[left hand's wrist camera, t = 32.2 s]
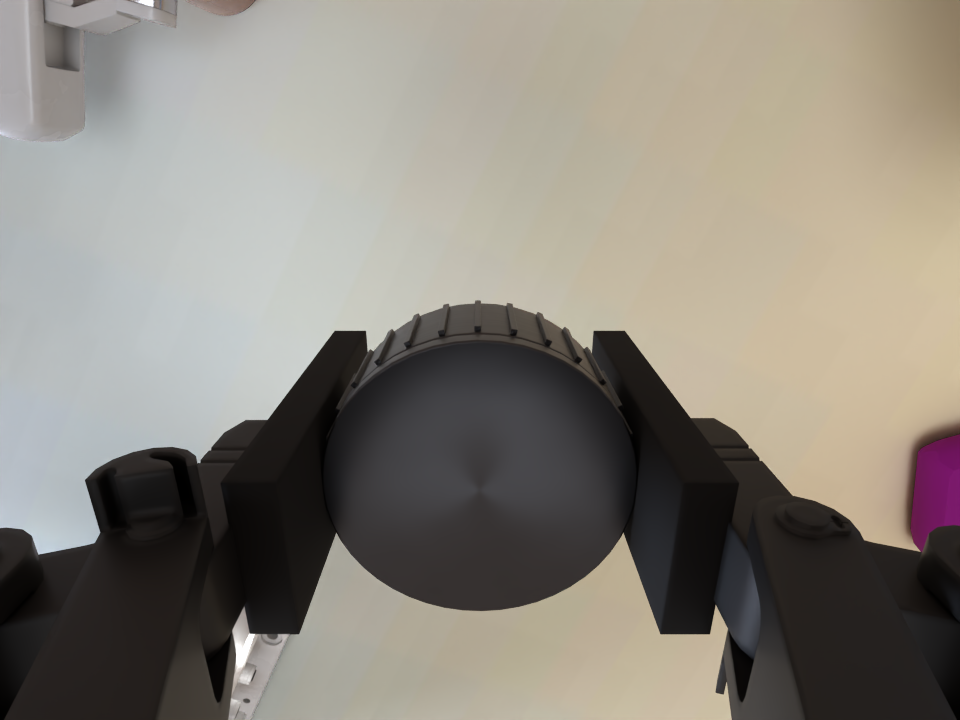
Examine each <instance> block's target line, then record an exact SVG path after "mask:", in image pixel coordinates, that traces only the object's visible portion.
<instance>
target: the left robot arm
mask: <svg viewBox="0 0 960 720" xmlns="http://www.w3.org/2000/svg"><path fill="white" fill-rule="evenodd" d="M367 353H368V352H367V339H366V331H334V333H333V334H332V335H331V337H330V338H329V339H328V341H327V342H326V343H325V345H324V346H323V347H322V349H321V350H320V351H319V353H318V354H317V355H316V357H315V358H314V359H313V361H312V362H311V363H310V365H309V366H308V367H307V369H306V370H305V371H304V373H303V374H302V375H301V377H300V378H299V379H298V380H297V382H296V383H295V384H294V386H293V387H292V388H291V390H290V391H289V392H288V394H287V395H286V396H285V398H284V399H283V400H282V402H281V403H280V404H279V406H278V407H277V408H276V410H275V411H274V412H273V414H272V415H271V416H270V418H269V419H268V420H245V421H244V422H242V423H240V424H238V425H237V426H235V427H233V428H232V429H230V430H228V431H227V432H225V433H224V434H223V435H222V436H221V437H220V438H219V440H218V441H217V442H216V443H215V444H214V445H213V446H212V448H211V451H208V452H207V453H206V454H205V456H204V457H203V458H202V459H201V463H198V464H197V460H196V456H195V455H194V454H192V453H191V452H189V451H188V450H185V449H180V448H174V447H165V448H151V449H146V450H142V451H137V452H132V453H130V454H127V455H124V456H121V457H119V458H116V459H113V460H111V461H110V462H108V463H106V464H104V465H103V466H101V467H99V468H97V469H96V470H95V471H94V472H93V473H92V474H91V475H90V476H89V477H88V478H87V479H86V480H85V482H86V485H87V489H88V492H89V495H90V499H91V502H92V505H93V509H94V512H95V516H96V519H97V522H98V526H99V529H100V532H101V533H100V535H99V537H98V539H97V541H96V542H95V543H94V544H90V545H86V546H81V547H76V548H71V549H66V550H61V551H56V552H50V553H45V554H40V555H38V553H37V550H36V547H35V544H34V541H33V538H32V536H31V535H30V534H28V533H27V532H25V531H24V530H22V529H13V528H0V720H228V718H229V710H230V703H231V695H232V687H233V679H234V672H235V664H236V656H237V655H236V647H235V641H234V637H233V632H232V630H233V628H234V626H235V624H236V622H237V620H238V618H239V616H240V614H241V612H242V610H243V608H244V607H245V612H246V617H247V623H248V628H249V633H250V634H299V633H300V630H301V628H302V625H303V622H304V619H305V617H306V614H307V611H308V608H309V606H310V603H311V600H312V597H313V595H314V592H315V589H316V586H317V584H318V581H319V578H320V575H321V573H322V570H323V567H324V564H325V562H326V559H327V556H328V553H329V551H330V548H331V545H332V542H333V540H334V537H335V534H336V531H335V529H334V527H333V525H332V522H331V520H330V517H329V514H328V512H327V509H326V505H325V500H324V494H323V485H322V473H321V472H322V462H323V454H324V450H325V446H326V436H327V434H328V432H329V430H330V428H331V426H332V424H333V423H334V421H335V419H336V417H337V415H338V414H335V413H334V411H335V409H336V407H337V405H338V403H339V401H340V400H341V398H342V396H343V394H344V392H345V390H346V388H347V387H348V385H349V383H350V381H351V379H352V377H353V375H354V373H356V374H357V372H358V370H359V368H360V366H361V364H362V362H363V360H364V358H365V357H366V355H367ZM592 355H593V357H594V359H595V361H596V363H597V364H598V366H599V368H600V370H601V371H603V370H604V372H605V374H606V376H607V378H608V380H609V381H610V383H611V385H612V387H613V389H614V391H615V393H616V394H617V396H618V398H619V400H620V402H621V404H622V406H623V408H624V410H622V411H621V412H622V414H623V416H624V417H625V419H626V421H627V423H628V425H629V427H630V429H631V431H632V433H633V436H634V438H633V439H632V440H633V443H634V447H635V450H636V457H637V464H638V481H637V490H636V498H635V504H634V507H633V510H632V513H631V516H630V519H629V522H628V524H627V526H626V528H625V530H624V532H623V533H624V535H625V538H626V541H627V543H628V546H629V549H630V552H631V554H632V557H633V560H634V563H635V565H636V568H637V571H638V574H639V576H640V579H641V582H642V585H643V587H644V590H645V593H646V596H647V598H648V601H649V604H650V607H651V609H652V612H653V615H654V618H655V620H656V623H657V626H658V629H659V631H660V634H710V631H711V626H712V621H713V615H714V610H715V605H716V606H717V608H718V610H719V612H720V614H721V616H722V618H723V619H724V621H725V623H726V625H727V627H728V632H727V637H726V641H725V646H724V651H723V656H722V660H721V665H720V670H719V675H718V680H717V686H716V693H719V694H723V695H724V690H725V686H726V682H727V686H728V693H729V701H730V709H731V716H732V720H960V526H958V525H950V526H941V527H937V528H935V529H934V530H933V531H931V532H930V533H929V534H928V537H927V540H926V543H925V545H924V548H923V551H922V552H918V551H913V550H908V549H903V548H897V547H892V546H887V545H882V544H877V543H872V542H868V541H864V539H863V538H862V536H861V534H860V532H859V531H858V529H857V528H856V527H855V526H854V525H853V523H852V522H851V521H850V520H849V519H847V518H846V517H844V516H843V515H841V514H840V513H839V512H837V511H836V510H834V509H832V508H830V507H827V506H825V505H823V504H820V503H818V502H816V501H812V500H808V499H804V498H800V497H796V496H792V495H791V494H790V492H789V491H788V490H787V489H786V488H785V487H784V486H783V484H782V483H781V482H780V481H779V480H778V479H777V478H776V476H775V475H774V474H773V473H772V472H771V471H770V470H769V468H768V467H767V466H766V465H765V464H764V463H763V462H762V461H759V457H758V456H757V455H756V454H755V452H754V451H753V450H752V449H749V446H748V444H747V443H746V442H745V441H744V440H743V439H742V438H741V436H740V435H739V434H738V433H737V432H736V431H735V430H733V429H732V428H730V427H728V426H726V425H725V424H723V423H721V422H720V421H718V420H716V419H714V418H690V417H689V415H688V414H687V413H686V412H685V410H684V409H683V408H682V406H681V405H680V404H679V402H678V401H677V400H676V398H675V397H674V396H673V394H672V393H671V392H670V390H669V389H668V388H667V386H666V385H665V384H664V382H663V381H662V380H661V378H660V377H659V376H658V374H657V373H656V372H655V370H654V369H653V368H652V366H651V365H650V364H649V362H648V361H647V360H646V358H645V357H644V356H643V354H642V353H641V352H640V351H639V349H638V348H637V347H636V345H635V344H634V343H633V341H632V340H631V339H630V337H629V336H628V335H627V333H626V332H625V331H594V334H593V347H592Z"/></svg>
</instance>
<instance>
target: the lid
mask: <svg viewBox="0 0 960 720" xmlns="http://www.w3.org/2000/svg"><path fill="white" fill-rule="evenodd" d="M622 410H624V408H623V406H622V404H621V402H620V400H619V398H618V396H617V394H616V393H615V391H614V389H613V387H612V385H611V383H610V381H609V380H608V378H607V376H606V374H605V372H604V370H603V371H601V370H600V368H599V366H598V364H597V363H596V361H595V359H594V357H593V355H592V353H591V351H590V350H589V348H588V347H586V348H585V349H583V348H582V346H581V345H580V344H579V343H578V342H577V341H576V340H575V339H574V338H572V336H571V334H570V331H569V330H568V329H567V328H566V327H564V328H563V329H561V328H559V327H558V326H556V325H555V324H553V323H552V322H550V321H548V320H546V319H544V317H543V314H541V313H539V312H537V314H536V315H535V314H533V313H530V312H527V311H524V310H521V309H518V308H514V307H513V304H510V303H507V306H503V305H497V304H481V301H475V304H464V305H456V306H451V307H449V304H445V305H443V308H441V309H438V310H435V311H433V312H430V313H427V314H424V315H422V316H420V315H419V314H416V315H414V317H413V319H412V321H410V322H408V323H406V324H405V325H403V326H402V327H400V328H399V329H397V330H396V331H393V330H392V329H391V330H390V331H389V332H388V333H387V335H386V337H385V340H384V341H383V342H382V343H381V344H380V345H379V346H378V347H377V348H376V349H375V351H374V352H373V351H372V350H369V352H368V353H367V355H366V357H365V358H364V360H363V362H362V364H361V366H360V368H359V370H358V372H357V374H356V373H354V375H353V377H352V379H351V381H350V383H349V385H348V387H347V388H346V390H345V392H344V394H343V396H342V398H341V400H340V401H339V403H338V405H337V407H336V409H335V411H334V413H335V414H338V415H337V417H336V419H335V421H334V423H333V424H332V426H331V428H330V430H329V432H328V434H327V436H326V446H325V450H324V454H323V462H322V472H321V473H322V485H323V494H324V500H325V505H326V509H327V512H328V514H329V517H330V520H331V522H332V525H333V527H334V529H335V531H336V532H337V534H338V536H339V538H340V540H341V541H342V543H343V544H344V545H345V547H346V548H347V549H348V551H349V552H350V554H351V555H352V556H353V557H354V558H355V559H356V560H357V561H358V562H359V563H360V564H361V565H362V566H363V567H364V568H365V569H366V570H367V571H368V572H370V573H371V574H372V575H373V576H375V577H376V578H377V579H378V580H380V581H382V582H383V583H385V584H386V585H388V586H389V587H391V588H392V589H394V590H396V591H398V592H401V593H403V594H405V595H407V596H409V597H411V598H414V599H417V600H419V601H422V602H425V603H428V604H432V605H436V606H440V607H444V608H451V609H458V610H470V611H489V610H502V609H508V608H514V607H520V606H524V605H527V604H531V603H535V602H538V601H540V600H543V599H545V598H548V597H551V596H553V595H555V594H557V593H559V592H561V591H563V590H565V589H567V588H569V587H571V586H572V585H573V584H575V583H576V582H578V581H579V580H581V579H582V578H584V577H585V576H586V575H588V574H589V573H590V572H591V571H592V570H593V569H595V568H596V567H597V566H598V565H599V564H600V563H601V562H602V561H603V560H604V559H605V557H606V556H607V555H608V554H609V553H610V552H611V551H612V549H613V548H614V546H615V545H616V543H617V542H618V540H619V539H620V538H621V536H622V534H623V532H624V530H625V528H626V526H627V524H628V522H629V519H630V516H631V513H632V510H633V507H634V504H635V498H636V490H637V481H638V464H637V457H636V450H635V447H634V443H633V440H632V439H633V438H634V436H633V433H632V431H631V429H630V427H629V425H628V423H627V421H626V419H625V417H624V416H623V414H622V412H621V411H622Z"/></svg>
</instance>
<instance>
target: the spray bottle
mask: <svg viewBox="0 0 960 720" xmlns="http://www.w3.org/2000/svg"><path fill="white" fill-rule="evenodd" d="M950 525H958V526H960V434H959V435H955V436H952V437H948V438H944V439H941V440H937V441H935V442H933V443H931V444H929V445H927V446H924V447H922V448H921V449H920V450H919V451H918V457H917V467H916V477H915V487H914V498H913V508H912V518H911V528H910V529H911V533H912V537H913V542H914V544H915V545H916V546H917V547H918V549H919V550H920V551H921V552H922V551H923V548H924V545H925V543H926V540H927V537H928V534H929V533H930V532H931V531H933V530H934V529H935V528H937V527H941V526H950Z"/></svg>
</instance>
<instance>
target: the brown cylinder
mask: <svg viewBox="0 0 960 720" xmlns="http://www.w3.org/2000/svg"><path fill="white" fill-rule="evenodd" d="M184 1H186V2H188V3H190V4H193V5H195V6H197V7H199V8H201V9H204V10H206V11H208V12H210V13H213V14H217V15H224V16H227V15H234V14H238V13H240V12H242V11H244V10H246V9H247V8H248V7H249V6H250V5H251V4H252V3H253V2H254V1H255V0H184Z"/></svg>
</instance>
